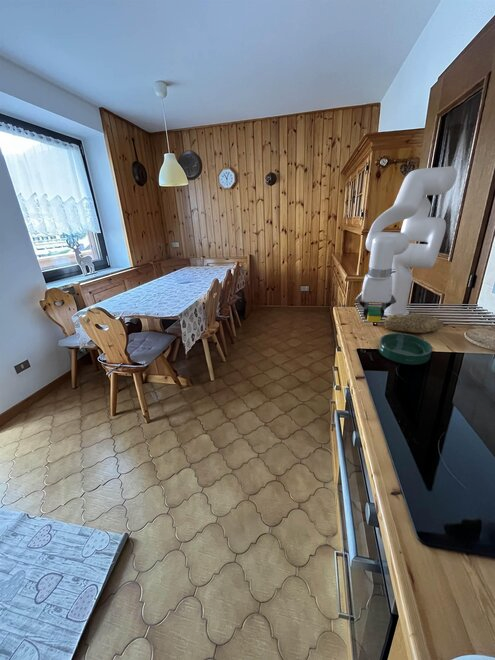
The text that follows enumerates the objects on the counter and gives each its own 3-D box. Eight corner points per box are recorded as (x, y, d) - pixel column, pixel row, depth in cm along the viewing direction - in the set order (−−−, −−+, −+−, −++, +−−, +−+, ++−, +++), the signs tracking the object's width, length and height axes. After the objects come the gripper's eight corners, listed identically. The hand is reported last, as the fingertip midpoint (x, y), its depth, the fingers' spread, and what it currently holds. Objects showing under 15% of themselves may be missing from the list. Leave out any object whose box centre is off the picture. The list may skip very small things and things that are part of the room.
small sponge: (365, 314, 114) (366, 306, 112) (377, 314, 113) (379, 306, 111) (367, 321, 108) (368, 313, 106) (380, 322, 107) (381, 314, 105)
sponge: (383, 335, 116) (442, 336, 104) (383, 316, 114) (442, 315, 102) (389, 328, 126) (444, 329, 114) (389, 311, 125) (444, 309, 113)
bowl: (375, 340, 109) (377, 331, 108) (422, 344, 105) (424, 334, 103) (381, 363, 95) (383, 353, 94) (435, 368, 91) (438, 358, 89)
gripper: (403, 269, 103) (394, 314, 111) (354, 269, 107) (349, 312, 116) (407, 275, 96) (398, 323, 105) (355, 275, 101) (350, 320, 109)
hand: (372, 317), depth 110 cm, fingers closed on small sponge, 4 cm apart
